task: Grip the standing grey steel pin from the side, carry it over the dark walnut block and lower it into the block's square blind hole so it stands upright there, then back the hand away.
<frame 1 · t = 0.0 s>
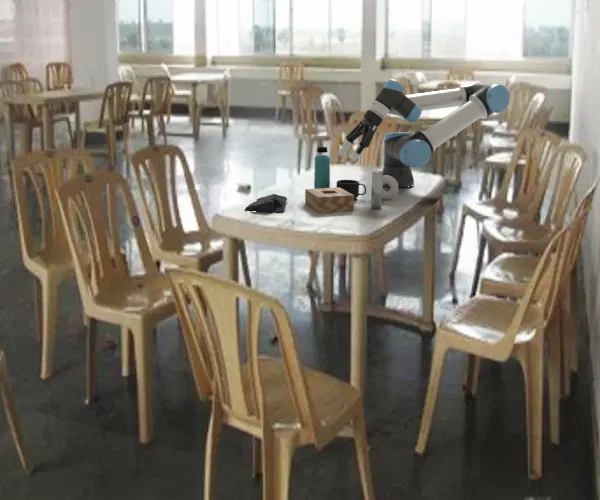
hand: (346, 157, 343), 15 cm above the table, tool tilted 35°, fingers open, 13 cm apart
mug: (351, 199, 338), on the table
donut: (385, 200, 337), on the table
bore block: (329, 207, 322), on the table
pin: (376, 208, 321), on the table
beverage bottle: (321, 195, 345), on the table
dark slate chunk: (268, 208, 323), on the table
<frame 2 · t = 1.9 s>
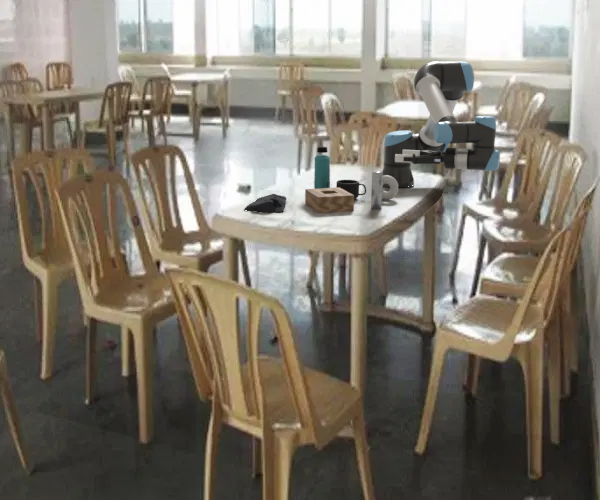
hand: (398, 155, 314), 21 cm above the table, tool horizontal, fingers open, 13 cm apart
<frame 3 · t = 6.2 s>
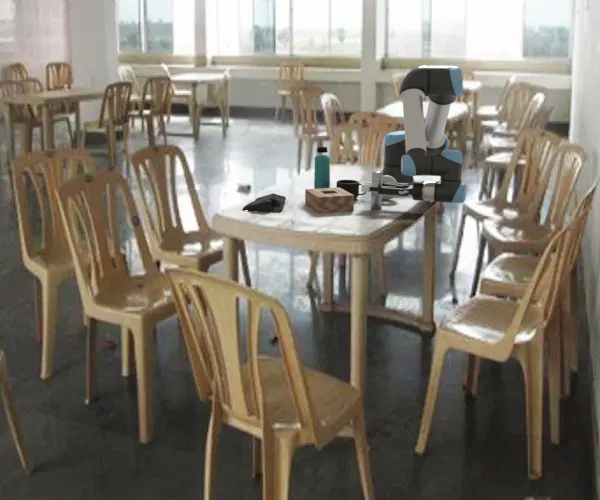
hand: (363, 186, 321), 8 cm above the table, tool horizontal, fingers closed on pin, 4 cm apart
pin: (376, 208, 321), on the table, touching gripper
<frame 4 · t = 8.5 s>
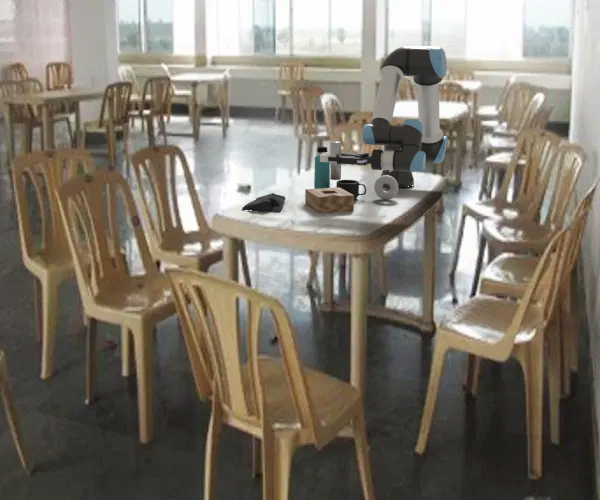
hand: (321, 157, 317), 19 cm above the table, tool horizontal, fingers closed on pin, 4 cm apart
pin: (335, 179, 318), point 11 cm above the table, touching gripper
when the fingers open (13 cm above the table, at t = 10.7 s): pin drops 3 cm, resting on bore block.
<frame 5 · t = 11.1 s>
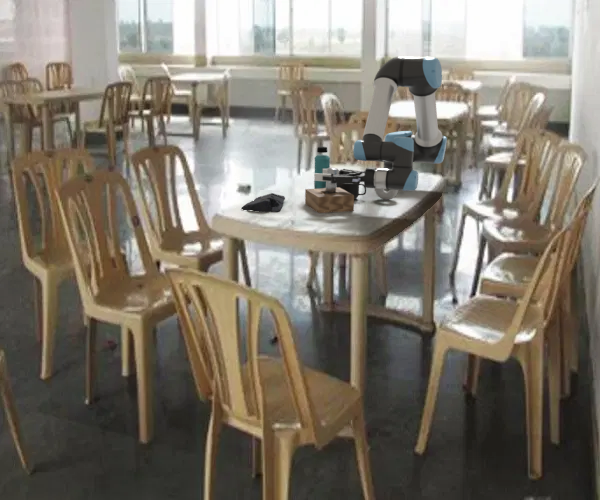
hand: (318, 174, 320), 13 cm above the table, tool horizontal, fingers open, 10 cm apart
pin: (329, 204, 322), point 1 cm above the table, touching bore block
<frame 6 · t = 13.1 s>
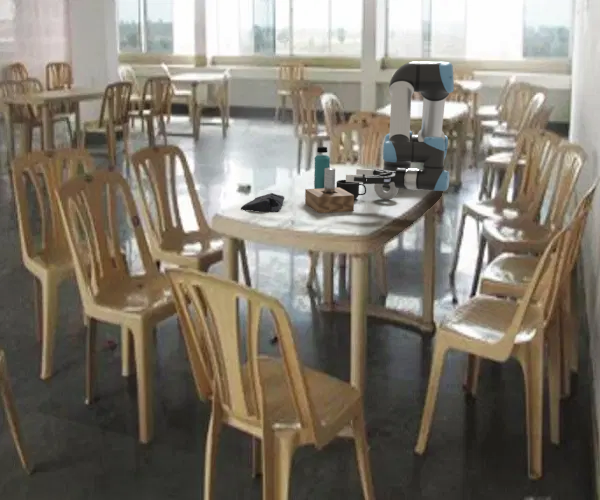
hand: (351, 175, 317), 13 cm above the table, tool horizontal, fingers open, 13 cm apart
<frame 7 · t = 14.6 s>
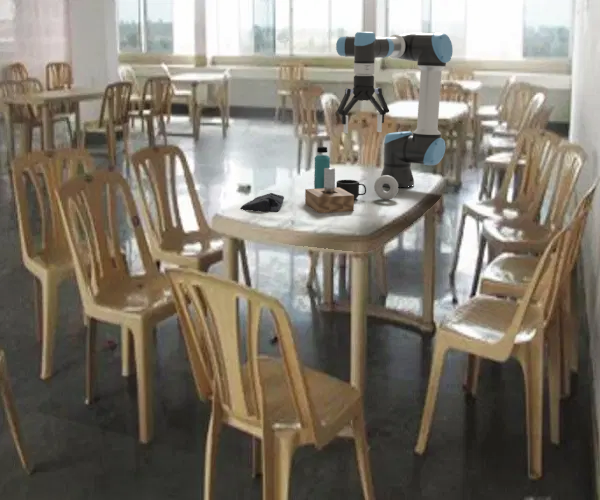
hand: (362, 132, 317), 28 cm above the table, tool pointing down, fingers open, 13 cm apart
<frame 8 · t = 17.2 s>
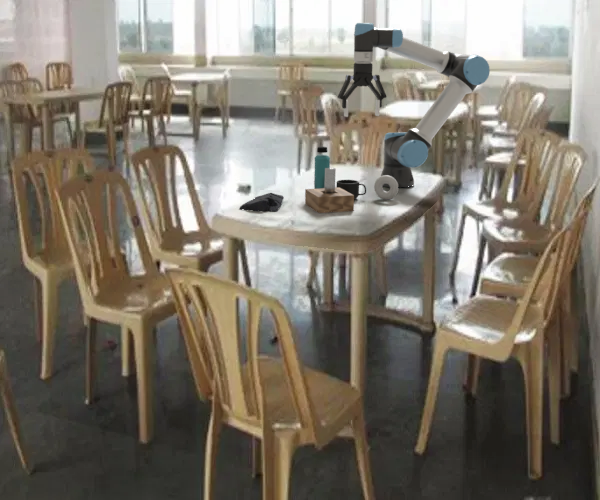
hand: (361, 116, 342), 32 cm above the table, tool pointing down, fingers open, 13 cm apart
at the end: pin 0.1 cm off-centre on the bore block, point 1.0 cm above the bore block's base; pin tilted 0°; the gripper is holding nothing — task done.
